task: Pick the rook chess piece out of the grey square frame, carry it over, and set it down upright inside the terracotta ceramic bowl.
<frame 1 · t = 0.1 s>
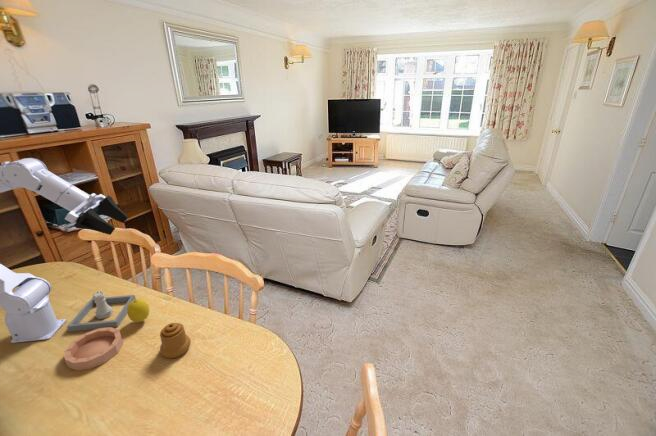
hand: (119, 225, 80), 32 cm above the table, tool tilted 50°, fingers open, 7 cm apart
lemon: (141, 321, 92), on the table
ornamental finial: (176, 349, 82), on the table
grey square frame: (104, 314, 94), on the table
rook chess piece: (105, 315, 95), resting in grey square frame
bowl: (96, 351, 81), on the table
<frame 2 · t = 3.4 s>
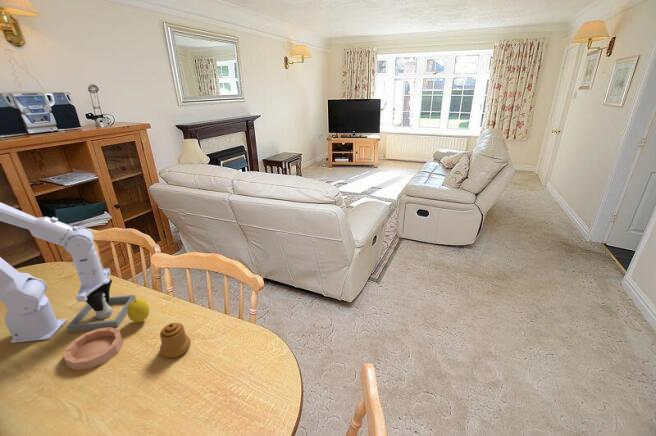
hand: (102, 306, 93), 3 cm above the table, tool pointing down, fingers closed on rook chess piece, 3 cm apart
rook chess piece: (105, 315, 94), resting in grey square frame, touching gripper
everything else where it was.
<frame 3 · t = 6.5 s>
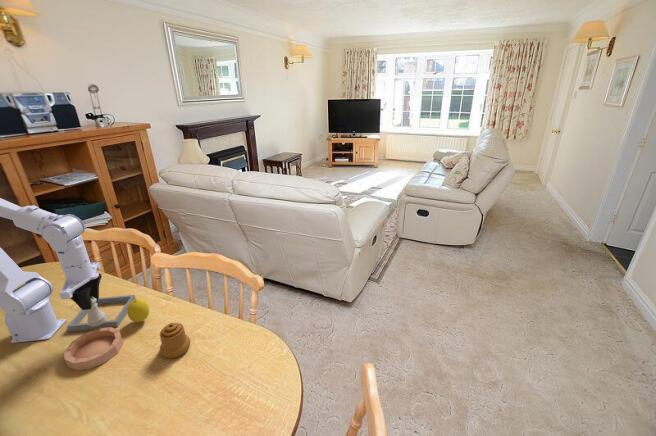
hand: (90, 304, 83), 10 cm above the table, tool pointing down, fingers closed on rook chess piece, 3 cm apart
rook chess piece: (98, 322, 86), point 4 cm above the table, touching gripper
everything else where it was.
when the fingers open (5 cm above the table, at t = 9.3 s): rook chess piece stays where it is, resting on bowl.
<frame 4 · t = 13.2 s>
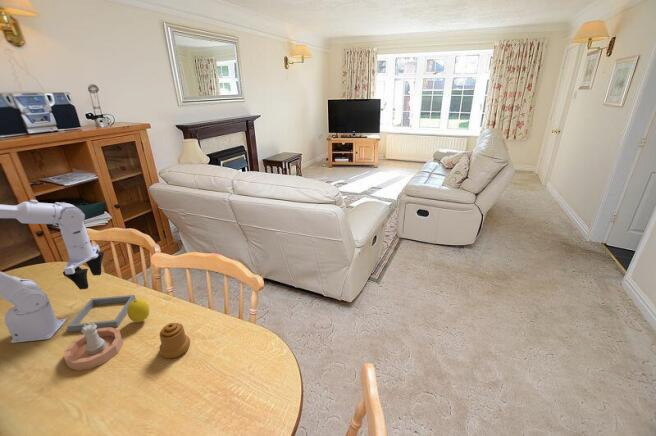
hand: (90, 281, 95), 9 cm above the table, tool pointing down, fingers open, 7 cm apart
rook chess piece: (96, 349, 81), resting on bowl
everything else where it was.
at the end: rook chess piece 0.3 cm off-centre on the bowl, point 0.4 cm above the bowl's base; rook chess piece tilted 0°; the gripper is holding nothing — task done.
